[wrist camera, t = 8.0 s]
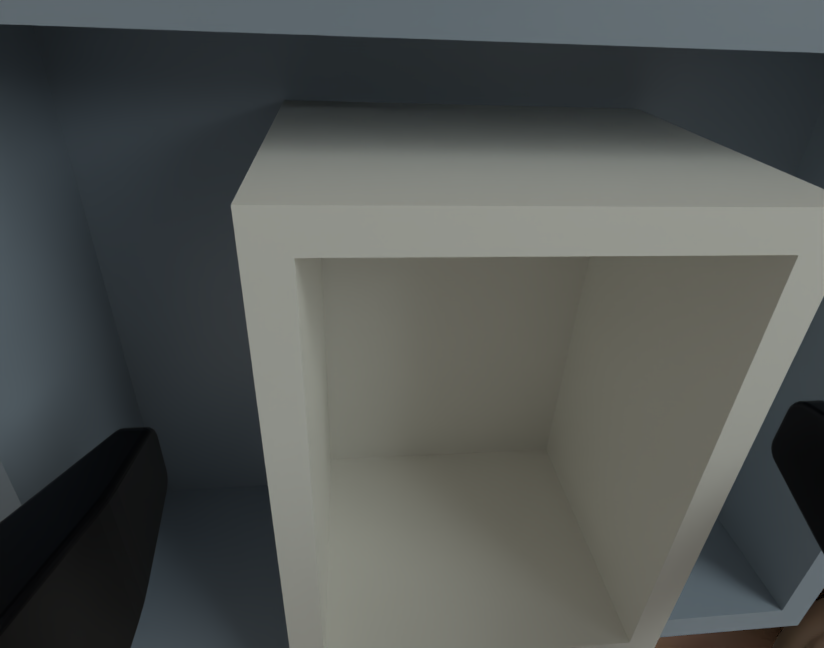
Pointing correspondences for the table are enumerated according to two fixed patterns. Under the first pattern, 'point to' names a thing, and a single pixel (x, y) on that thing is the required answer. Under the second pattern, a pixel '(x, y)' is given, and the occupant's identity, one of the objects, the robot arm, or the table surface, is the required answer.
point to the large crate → (218, 262)
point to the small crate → (509, 362)
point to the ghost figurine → (805, 630)
